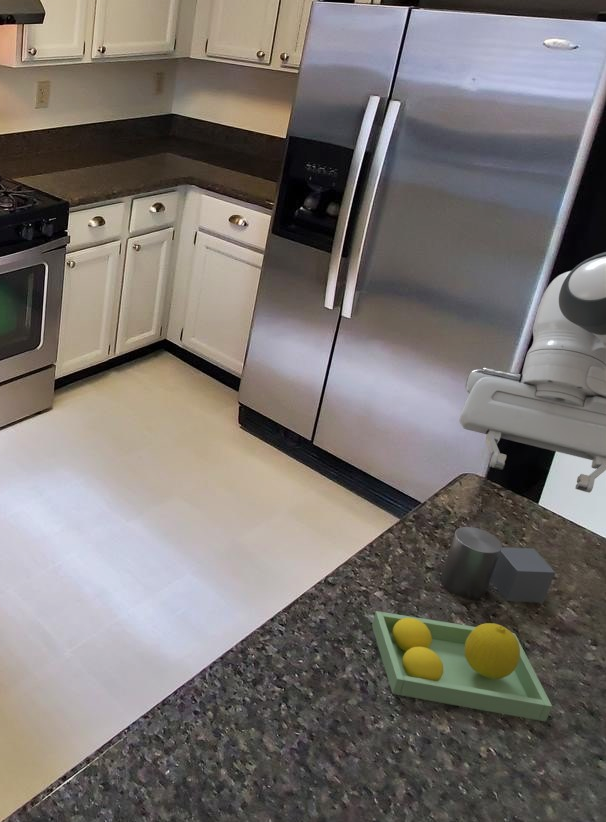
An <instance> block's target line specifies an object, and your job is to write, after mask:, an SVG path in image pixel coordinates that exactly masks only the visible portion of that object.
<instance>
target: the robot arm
mask: <svg viewBox="0 0 606 822" xmlns="http://www.w3.org/2000/svg"><path fill="white" fill-rule="evenodd" d="M532 336H533V337H532V338H533V341H532V345H531V346H530V348H529V349H528V351H527V353H526V356H525V359H524V364H523V368H522V371H521V373H516V372H512V371H505V370H498V369H495V368H492V367H483V368H478V369H473V370H472V371H471V372H470V373H468V376H467V378H466V382H465V389H466V392H467V393H468V396H467V398H466V401H465V402H464V405H463V408H462V410H461V414H460V416H459V420H458V421H459V424H460V425H461V427H462V429H464V430H467V431H471V432H475V433H479V434H483V435H486V437H485V440H484V441H485V445H486V446H487V449H488V451H489V453H490V455H491V457H490V462H489V468H494V469H496V470H497V469H498V470H503V469H504V468H505V465H506V460H507V456H508V455H507V454H504V453H501V452H500V449H499V447H498V445H497V444H498V443H499V442H500V440H501V439H504V440H508V441H512V442H516V443H521V444H525V445H528V446H533V447H536V448H540V449H545V450H548V451H552V452H556V453H560V454H565V455H569V456H572V457H577V458H580V459H584V460H585V459H586V460H589V461H592V462H591V467H590V468H591V469H595V470H593V471H592V472H591V473H590V474H589V475H587V474H584V473H580V474H579V475H578V476H577V477H576V478H577V479H576V485H575V488H574V489H575V490H579V491H582V492H584V493H591V492H592V491H593V489H594V485H595V480H596V479H597V478H598V477H599V476H601V475H602V474H604V472H605V471H606V251H605V252H604V251H603V252H601V253H598V254H595V255H593V256H591V257H589V258H587V259H584V260H583V261H582V262H580V263H579V264H577V265H575V267H574V268H572V269H571V270H569V271H565V272H563V273H561V274H559V275H557V276H556V277H555V278H554V279H553V280H552V281H551V282H550V283H549V284H548V286H547V287H546V289H545V291H544V292H543V295H542V297H541V300H540V302H539V305H538V308H537V312H536V315H535V319H534V323H533V326H532Z"/></svg>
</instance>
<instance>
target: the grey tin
mask: <svg viewBox="0 0 606 822" xmlns="http://www.w3.org/2000/svg"><path fill="white" fill-rule="evenodd" d="M502 547H503V545H502V542H501V541H500V539H499V538H498V537H496V536H495V535H494V534H492V533H491V532H488V531H487V530H484V529H481V528H479V527H474V526H460V527H458V528H457V529H456V530H455V532H454V535H453V538H452V541H451V544H450V547H449V549H448V553H447V556H446V558H445V561H444V565H443V568H442V571H441V574H440V577H439V581H440V585H442V587H443V588H444V589H445V590H446V591H447V592H449V593H450V594H452V595H455V596H456V597H459V598H461V599H465V600H471V601H477V600H481V599H483V598H484V597H485V595H486V593H487V590H488V588H489V585H490V582H491V581H490V579H491V577H492V574H493V571H494V568H495V566H496V563H497V560H498V557H499V555H500V552H501V549H502Z"/></svg>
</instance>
